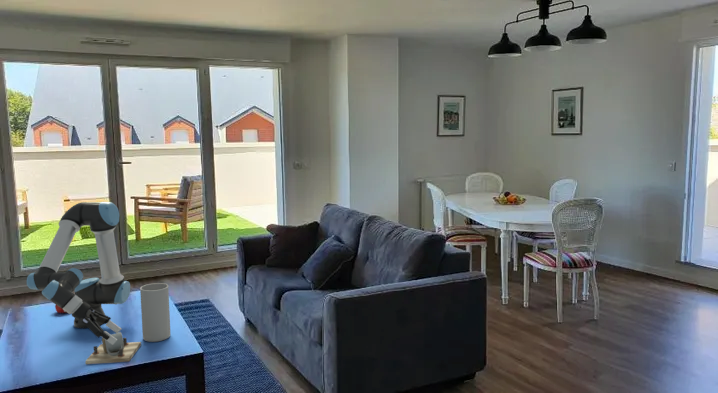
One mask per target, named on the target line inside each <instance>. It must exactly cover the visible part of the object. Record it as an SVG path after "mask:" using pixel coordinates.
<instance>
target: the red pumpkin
mask: <svg viewBox="0 0 718 393" xmlns="http://www.w3.org/2000/svg"><path fill="white" fill-rule="evenodd" d="M54 308H55V311H56V313H58V314H65V313H66V314H68V313H67V312H64V310H63V309H62V308H60V307H59V306H57V305H56V304H55V305H54Z"/></svg>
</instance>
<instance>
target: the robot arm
mask: <svg viewBox="0 0 718 393" xmlns="http://www.w3.org/2000/svg"><path fill="white" fill-rule="evenodd" d="M119 222H120V211H119V208H118V207H117V205H116V204H114V202H112V201H88V202H87V201H83V202H78V203H76V204H74V205H72V206H71V207H70V208H69V209H68V210H66V211H65V212H64V213H63V215H62V216H61V218H60V219H59V222H58V227H59V228H58V229H57V231H56V233H55V235H54V236H53V239H52V241H51V243H50V245H49V247H48V249H47V251H46V253H45V255H44V257H43V259H42V261H41V263H40V265H39V268H38V269H37V271H36V272H31V273H29V274H28V275H27V277H26V286H27V287H28V289H30V290H35V291H36V290H37V291H40V290H41V294H42V296H43V297H44V298H46V299H47V300H48V301H50V302H51V303H52V304H55V305H57V306H59V307H60V308H62V309H63V310H64V312H67V313H66V314H69V315H71V316H72V317H73V318H74V320H73V326H74V328H77V329H89V330H90V331H91V333H93V334H94V335H95V337H96V338H101V339H102V338H104V339H105V340H106V341H108V342H109V343H111V344H112V345H113V344H114V343H115V342H116V341H117V339H116V338H115V337H113V336H112V334H111V333H109V332H108V331H106V330H104V329H103V328H102V326H101V325H103V324H105V326H106V327H107V328H108V329H110V330H111V331H112V332H114V333H119V332H121V330H122V327H120V326H119V325H117V324H116V323H115V322H113V321H112V320H111V319H112V318H111V317H110V316H109V315H106V314H105V312H104V309H103V307H102V305H123V304H124V303H126V302H127V300H128V298H129V296H130V293H131V283H130V282H129V281H127V280H125V276H124V275H123V274H121V270H120V264H119V259H118V258H119V257H118V251H117V245H116V237H115V233H114V232H115V231H114V230H115V229H116V228H117V225H118V224H119ZM86 226H89V228H90V232H92V233H93V234H94V238H95V243H96V249H97V256H98V264H99V268H100V274H101V278H99V277H91V278H90V277H89V278H86V279H84V274H83V272H82V271H81V269H78V268H76V267H72V268H69V269H68V270H66V271H65V272H58V271H59V268H60V267H61V265H62V263H63V260H64V259H65V256H66V254H67V253H68V250H69V248H70V246H71V243H72V241H73V239H74V237H75V235H76V233H78V232H80V229H81V228H82V227H86ZM73 292H74V293H73Z"/></svg>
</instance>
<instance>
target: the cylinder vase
mask: <svg viewBox="0 0 718 393" xmlns="http://www.w3.org/2000/svg"><path fill="white" fill-rule="evenodd" d="M139 289H140V290H139V291H140V293H139V294H140V306H141V307H140V309H141V327H142V331H141V332H142V339H143V341H145V342H150V343H151V342H152V343H157V342H161V341H165V340H167V339H169V338H170V337H171V318H170V317H171V316H170V315H171V314H170V311H171V310H170V293H169V292H170V291H169V284H167V283H161V282H160V283H159V282H157V283H148V284H145V285H141V286H140V288H139Z"/></svg>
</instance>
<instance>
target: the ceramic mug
mask: <svg viewBox="0 0 718 393" xmlns="http://www.w3.org/2000/svg"><path fill="white" fill-rule="evenodd" d="M111 335H112V336H113V337H115V338H116V339H117V341H116V342H115V343H114V344H113V345H112V344H111V343H109V342H108V341H106V340H105V339H104V338H102V337H101V344H103V349H104V352H105V353H108V354H109V355H111V356H116V355H118V354H119V351H118V350H119V349H121V348H122V349H124V342H123V338H124V337H123V334H122V332H121V331H119V332H118V333H116V332H114V333H113V334H111ZM113 351H118V352H116V353H110V352H113Z"/></svg>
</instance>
